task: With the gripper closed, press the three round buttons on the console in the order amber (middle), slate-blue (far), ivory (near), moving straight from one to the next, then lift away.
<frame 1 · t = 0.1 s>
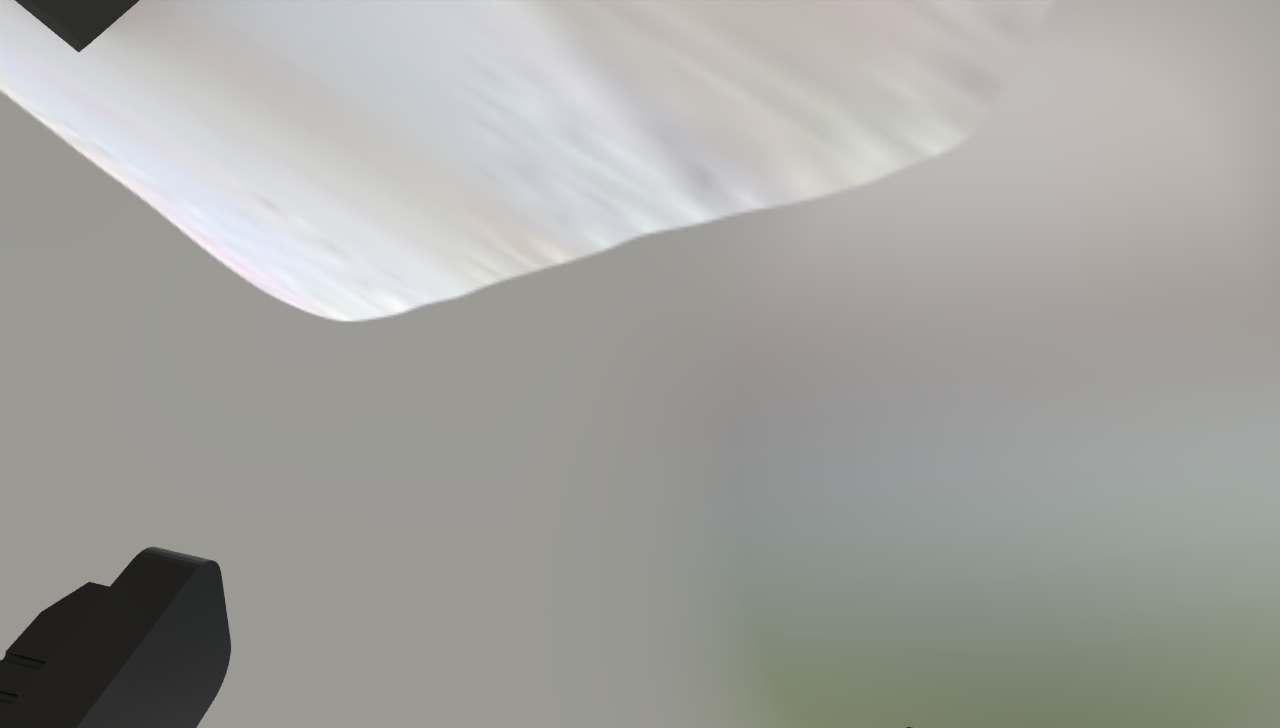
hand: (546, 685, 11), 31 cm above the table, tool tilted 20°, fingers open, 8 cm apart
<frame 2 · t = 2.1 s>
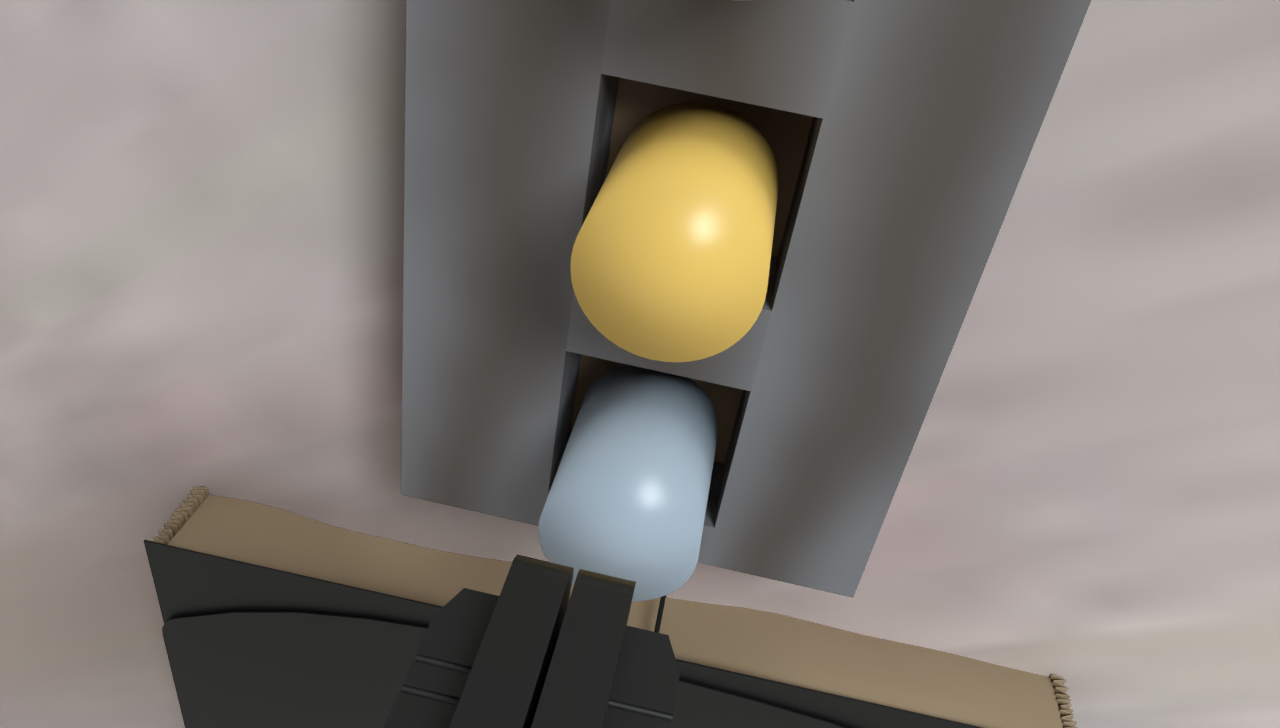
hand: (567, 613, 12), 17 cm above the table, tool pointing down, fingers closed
slate button: (634, 478, 26), point 5 cm above the table, slide at 0.0 cm
amber button: (683, 226, 22), point 5 cm above the table, slide at 0.0 cm
console: (709, 139, 26), on the table
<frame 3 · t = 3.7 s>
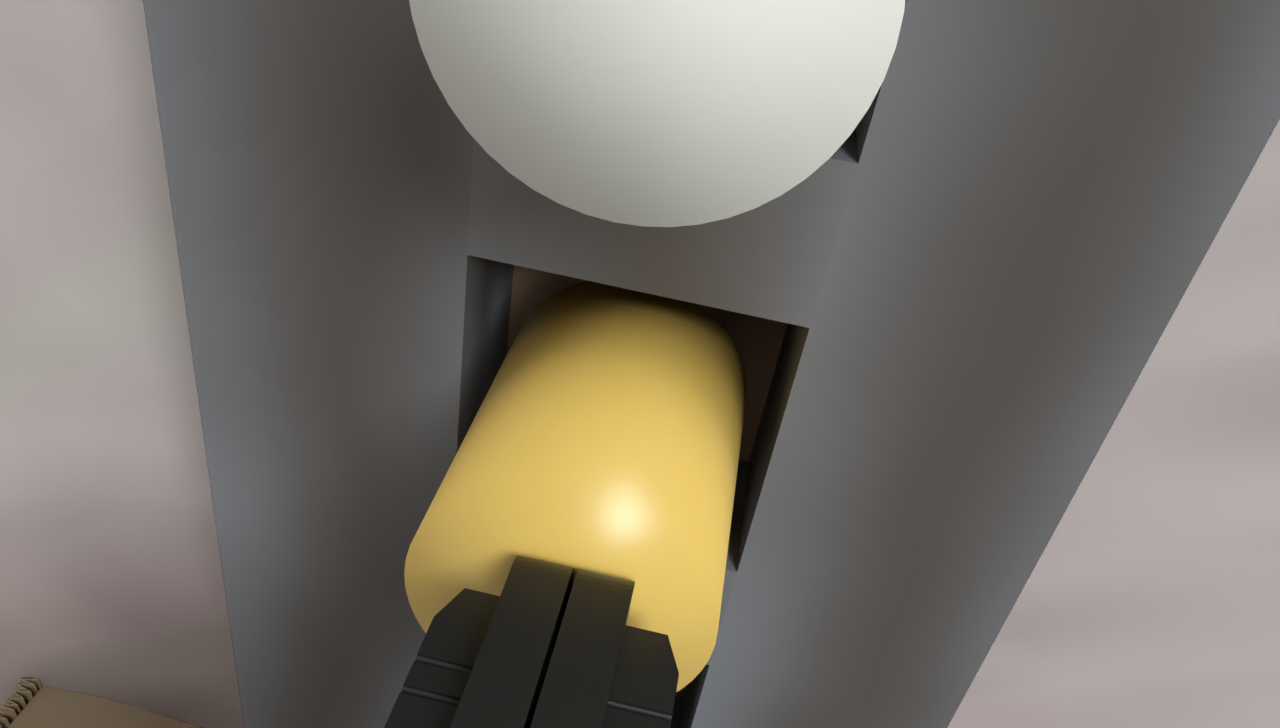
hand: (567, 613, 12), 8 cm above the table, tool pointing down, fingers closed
amber button: (597, 479, 14), point 5 cm above the table, slide at 0.2 cm, touching gripper
console: (651, 301, 19), on the table
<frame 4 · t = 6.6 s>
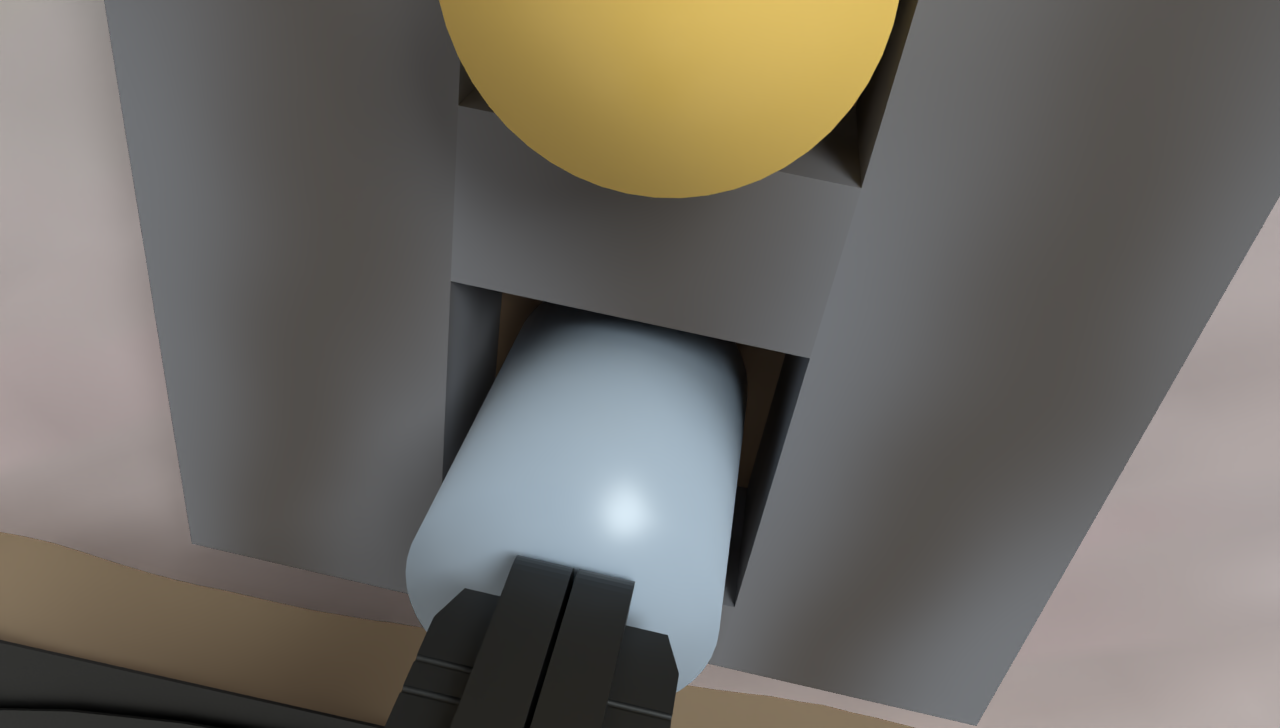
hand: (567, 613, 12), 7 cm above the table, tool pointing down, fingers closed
slate button: (598, 479, 14), point 4 cm above the table, slide at 1.0 cm, touching gripper
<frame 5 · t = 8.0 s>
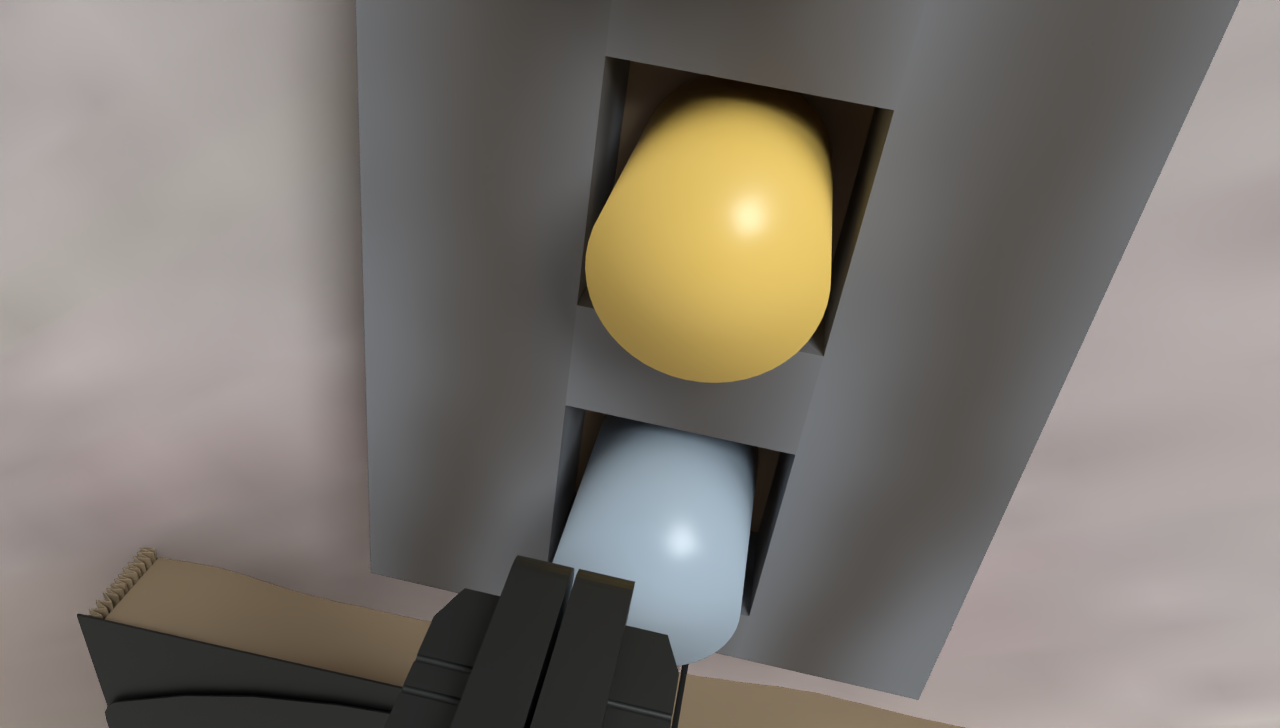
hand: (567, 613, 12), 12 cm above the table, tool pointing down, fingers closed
slate button: (661, 518, 22), point 4 cm above the table, slide at 1.4 cm
amber button: (721, 217, 18), point 4 cm above the table, slide at 1.4 cm
console: (740, 143, 21), on the table
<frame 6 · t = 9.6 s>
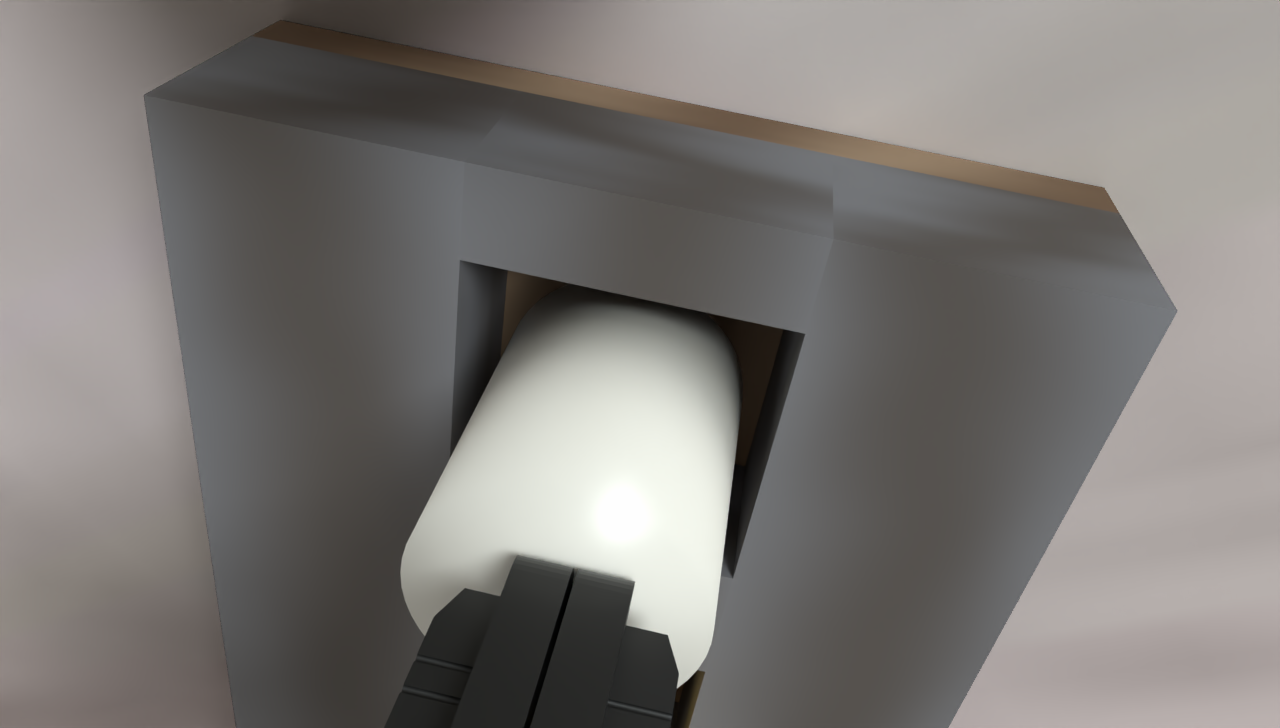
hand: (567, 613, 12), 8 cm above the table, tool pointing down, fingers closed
ivory button: (594, 479, 14), point 5 cm above the table, slide at 0.4 cm, touching gripper
console: (598, 576, 23), on the table
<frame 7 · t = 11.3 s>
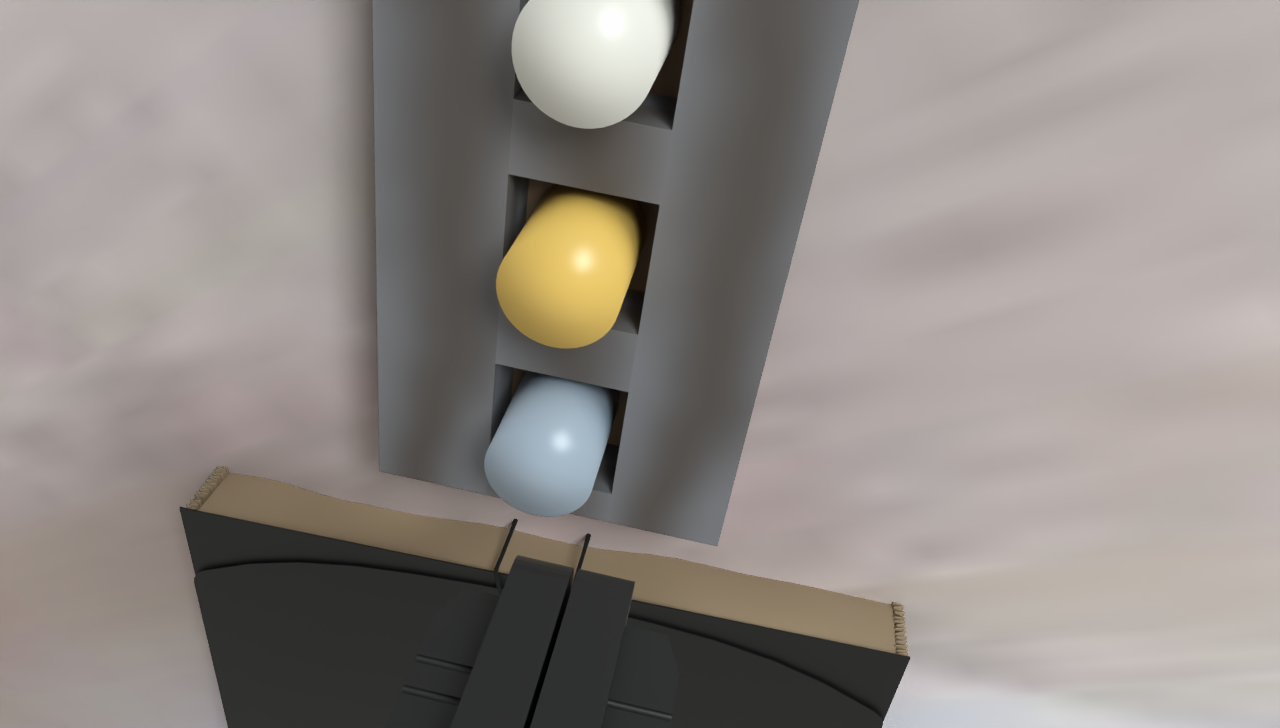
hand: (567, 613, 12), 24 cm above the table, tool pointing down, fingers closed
slate button: (554, 432, 37), point 4 cm above the table, slide at 1.4 cm
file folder: (542, 679, 52), on the table
ivory button: (601, 33, 28), point 4 cm above the table, slide at 1.4 cm
amber button: (575, 258, 32), point 4 cm above the table, slide at 1.4 cm
console: (599, 208, 36), on the table
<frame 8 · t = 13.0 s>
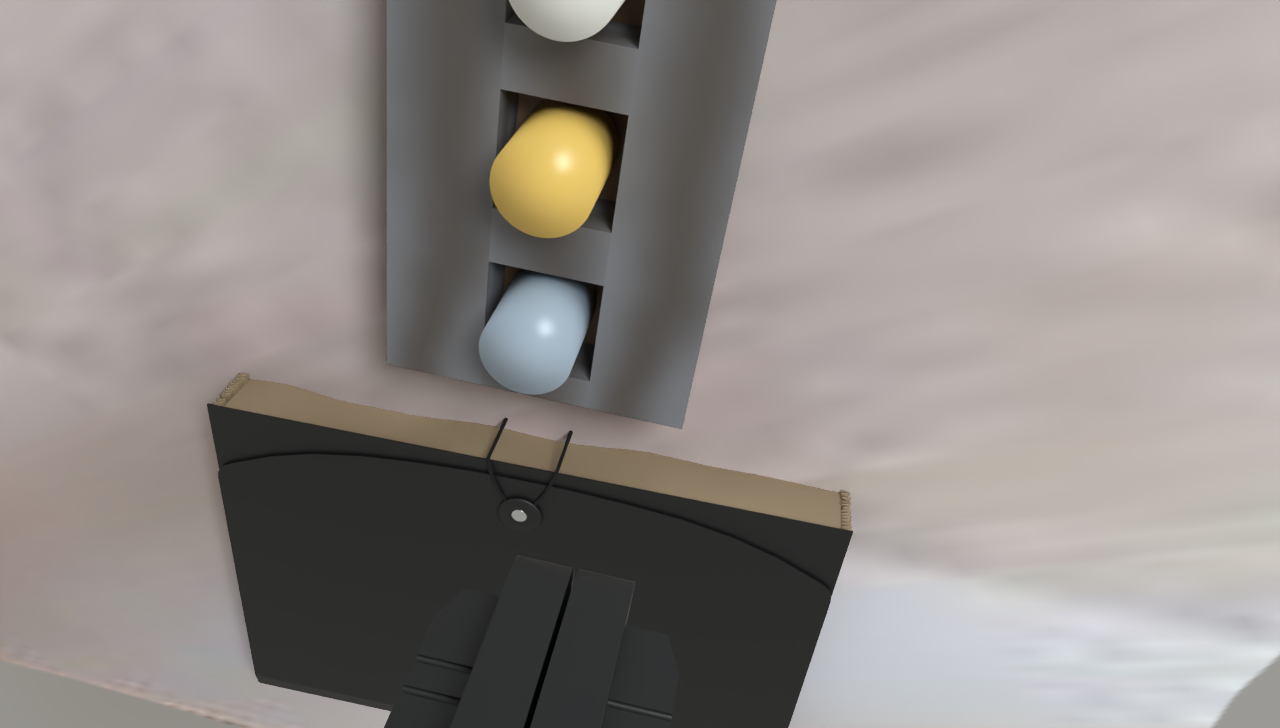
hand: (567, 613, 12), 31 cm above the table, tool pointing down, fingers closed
slate button: (540, 324, 42), point 4 cm above the table, slide at 1.4 cm
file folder: (530, 575, 58), on the table
amber button: (557, 164, 38), point 4 cm above the table, slide at 1.4 cm
console: (579, 128, 41), on the table
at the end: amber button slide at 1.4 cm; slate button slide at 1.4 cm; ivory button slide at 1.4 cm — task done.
